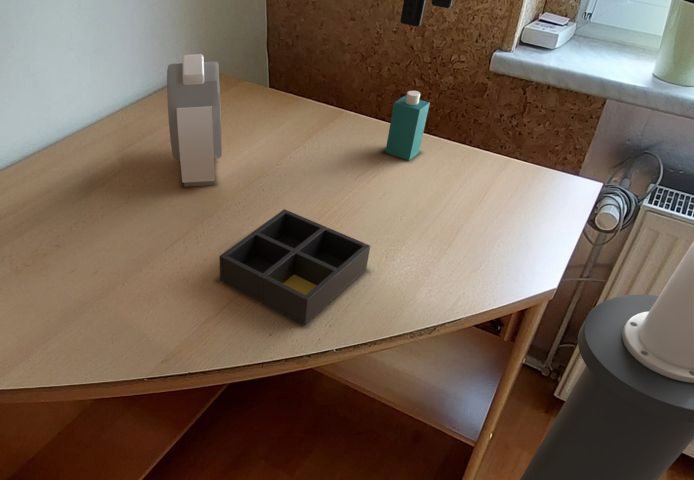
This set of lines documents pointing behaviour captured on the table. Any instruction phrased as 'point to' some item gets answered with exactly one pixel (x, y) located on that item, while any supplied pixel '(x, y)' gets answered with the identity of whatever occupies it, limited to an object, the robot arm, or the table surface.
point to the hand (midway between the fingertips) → (426, 15)
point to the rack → (294, 265)
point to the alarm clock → (195, 118)
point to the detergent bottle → (407, 126)
